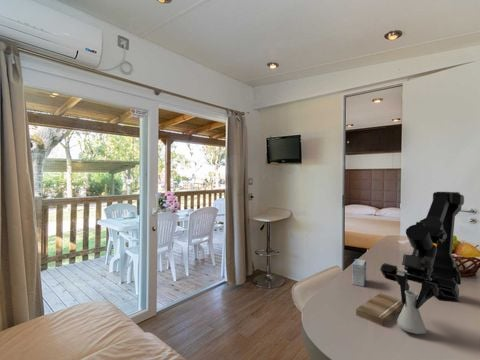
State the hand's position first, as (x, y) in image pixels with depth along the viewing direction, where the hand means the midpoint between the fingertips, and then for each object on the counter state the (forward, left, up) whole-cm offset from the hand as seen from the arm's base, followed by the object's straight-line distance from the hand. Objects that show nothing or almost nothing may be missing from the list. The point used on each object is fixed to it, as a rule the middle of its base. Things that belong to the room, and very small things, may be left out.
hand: (409, 305), depth 73 cm
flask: (-1, -1, -7) cm, 7 cm away
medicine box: (+5, -34, -8) cm, 36 cm away
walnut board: (+4, -11, -7) cm, 14 cm away
